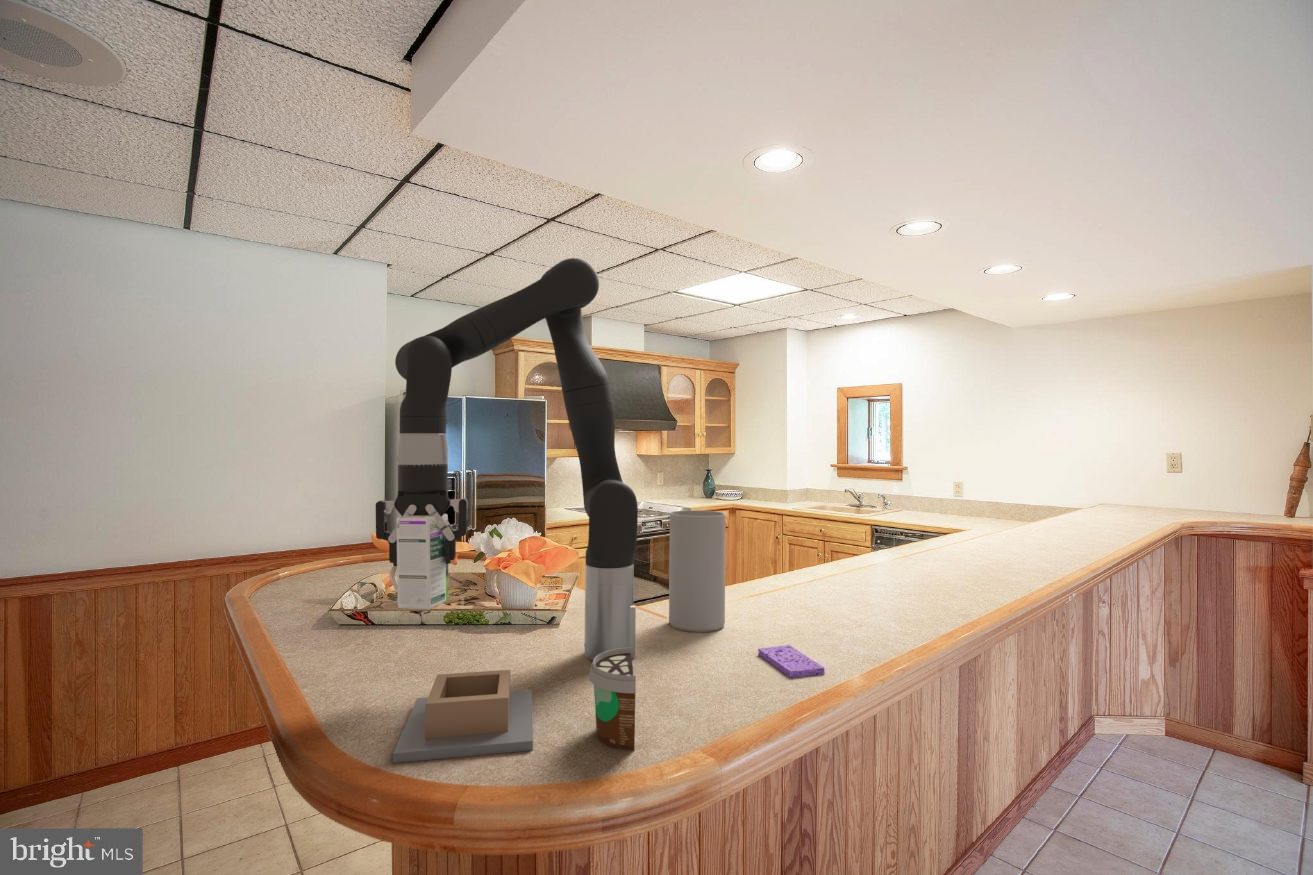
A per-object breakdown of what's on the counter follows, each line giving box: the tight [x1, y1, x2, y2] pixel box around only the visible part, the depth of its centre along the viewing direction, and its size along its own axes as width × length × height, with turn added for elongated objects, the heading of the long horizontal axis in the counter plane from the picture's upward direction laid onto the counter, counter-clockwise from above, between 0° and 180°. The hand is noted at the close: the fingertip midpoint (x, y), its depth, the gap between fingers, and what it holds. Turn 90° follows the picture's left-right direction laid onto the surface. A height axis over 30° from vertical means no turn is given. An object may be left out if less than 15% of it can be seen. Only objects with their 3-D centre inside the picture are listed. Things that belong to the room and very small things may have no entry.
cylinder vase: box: [668, 510, 727, 633], centre depth 136 cm, size 12×12×25 cm
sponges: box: [757, 644, 826, 679], centre depth 111 cm, size 7×13×2 cm, turn 17°
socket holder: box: [392, 669, 534, 764], centre depth 85 cm, size 17×17×6 cm
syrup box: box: [396, 513, 450, 610], centre depth 97 cm, size 6×6×14 cm
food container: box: [588, 647, 637, 751], centre depth 83 cm, size 12×6×10 cm, turn 5°
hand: (422, 564), depth 97 cm, fingers closed on syrup box, 7 cm apart
